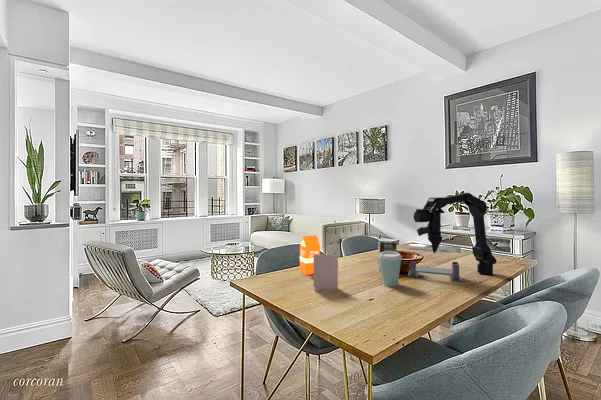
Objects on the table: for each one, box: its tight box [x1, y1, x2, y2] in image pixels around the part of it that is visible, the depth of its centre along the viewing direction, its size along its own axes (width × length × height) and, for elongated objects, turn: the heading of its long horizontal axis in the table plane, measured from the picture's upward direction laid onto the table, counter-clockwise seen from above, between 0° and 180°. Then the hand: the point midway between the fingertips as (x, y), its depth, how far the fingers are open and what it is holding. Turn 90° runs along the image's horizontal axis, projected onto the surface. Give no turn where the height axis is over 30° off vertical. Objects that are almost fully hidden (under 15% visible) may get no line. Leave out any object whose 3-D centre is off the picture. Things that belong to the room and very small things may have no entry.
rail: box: [408, 243, 462, 254], centre depth 157 cm, size 24×3×3 cm, turn 68°
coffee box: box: [377, 240, 398, 272], centre depth 171 cm, size 9×6×16 cm
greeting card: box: [313, 254, 339, 292], centre depth 138 cm, size 11×7×15 cm, turn 74°
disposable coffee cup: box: [377, 251, 403, 287], centre depth 145 cm, size 11×11×15 cm
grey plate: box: [416, 265, 452, 276], centre depth 169 cm, size 24×11×1 cm, turn 68°
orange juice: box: [299, 234, 321, 275], centre depth 167 cm, size 8×9×20 cm
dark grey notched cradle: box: [407, 260, 463, 283], centre depth 157 cm, size 25×9×8 cm, turn 68°
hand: (434, 252), depth 157 cm, fingers closed on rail, 3 cm apart
